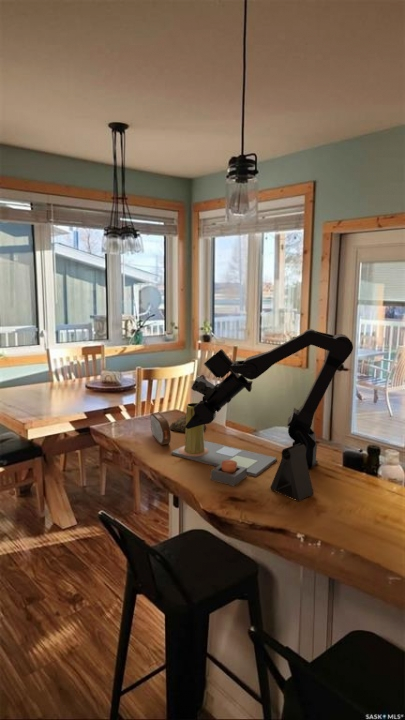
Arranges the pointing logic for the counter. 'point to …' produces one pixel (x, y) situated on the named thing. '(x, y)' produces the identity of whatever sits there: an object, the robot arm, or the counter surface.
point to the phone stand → (293, 474)
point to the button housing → (228, 475)
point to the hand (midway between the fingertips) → (189, 423)
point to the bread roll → (180, 424)
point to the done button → (229, 466)
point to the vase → (193, 433)
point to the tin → (160, 428)
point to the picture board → (229, 457)
